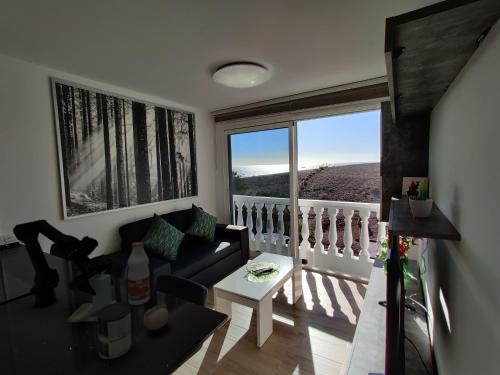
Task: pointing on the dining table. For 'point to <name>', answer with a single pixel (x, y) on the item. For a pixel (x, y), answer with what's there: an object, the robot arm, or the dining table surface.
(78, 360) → the dining table surface
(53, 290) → the robot arm
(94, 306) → the pillar
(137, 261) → the fruit juice
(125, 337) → the coffee can
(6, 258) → the dining table surface
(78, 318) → the board
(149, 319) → the decorative fruit
